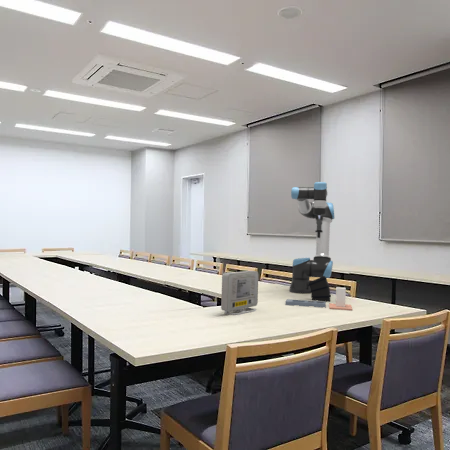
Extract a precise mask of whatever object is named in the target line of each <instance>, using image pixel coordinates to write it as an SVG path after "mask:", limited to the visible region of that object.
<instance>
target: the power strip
mask: <svg viewBox="0 0 450 450" xmlns="http://www.w3.org/2000/svg"><path fill="white" fill-rule="evenodd" d="M326 302H327V301H316V300H307V299H305V300H304V299H290V298H288V299H285V303H284V304H285V306H294V305H299V306H298V307H309V306H314V307H313V308H323V307H325V308H326V305H327V304H326Z"/></svg>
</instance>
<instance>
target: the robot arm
mask: <svg viewBox="0 0 450 450" xmlns="http://www.w3.org/2000/svg"><path fill="white" fill-rule="evenodd" d="M327 185H328V184H327V182H326V181H316V182H314V183H313V186H307V187H306V186H305V187H304V186H295V187H291V190H290V192H291V193H290V194H291V195H290V197H291V199H292V200H296V203H297V210H298V213H299V214H301V215H302V216H304V217H305V218H307V219H315V220H314V221H315V223H316V230H314V231H315V233H316V236H315V237H316V239H315V241H316V244H315V246H316V248H315V255H314V256H313V258H312V259H311V258H310V257H301V258H300V257H299V258H294V259H293V261H292V278H291V283H290V285H289V289H288V291H289V292H291V293H294V294H311V292H310V291H311V289H310V286H308V282H311V280H310V278H321V277H323V276H325V277H327V279H328V278H329V279H330V277H331V276H332V271H333V267H334V266H333V265H334V261H333V260H332V258H331V257H330V233H331V231H330V230H331V229H330V227H331V223H332V222H333V220H334V219H335V210H334V209H335V208H334V203H332V202H327V196H328V189H327V188H328V186H327ZM309 200H313V201H309Z"/></svg>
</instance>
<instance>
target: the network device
mask: <svg viewBox="0 0 450 450" xmlns="http://www.w3.org/2000/svg"><path fill="white" fill-rule="evenodd" d="M220 297H221V302H220V303H221V305H220V309H221V311H223V313H224V314H226V315H232V316H240V315H245V314H250V313H252V312H256V310H257V309H256V308H253V307H256V306H257V305H258V302H259V301H258V299H259V298H258V297H259V271H257V270H244V271H234V272H223V274H222V276H221V296H220ZM233 312H236V313H233Z"/></svg>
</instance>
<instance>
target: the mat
mask: <svg viewBox="0 0 450 450" xmlns="http://www.w3.org/2000/svg"><path fill="white" fill-rule="evenodd" d="M328 303H329V304H328V309H329V310H340V311H353V306H352V304H347V303H345V307H339V306H336V303H333V302H331V303H330V302H328Z"/></svg>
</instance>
